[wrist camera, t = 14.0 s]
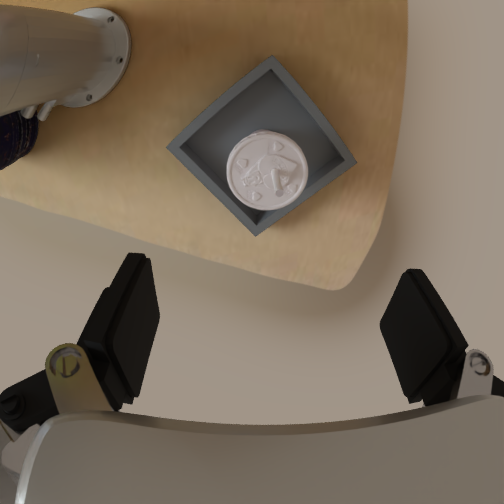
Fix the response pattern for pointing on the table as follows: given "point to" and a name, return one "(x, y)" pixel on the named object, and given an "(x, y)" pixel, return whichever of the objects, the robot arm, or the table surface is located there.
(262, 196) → the smoothie
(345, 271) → the table surface
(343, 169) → the tray
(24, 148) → the storage jar
